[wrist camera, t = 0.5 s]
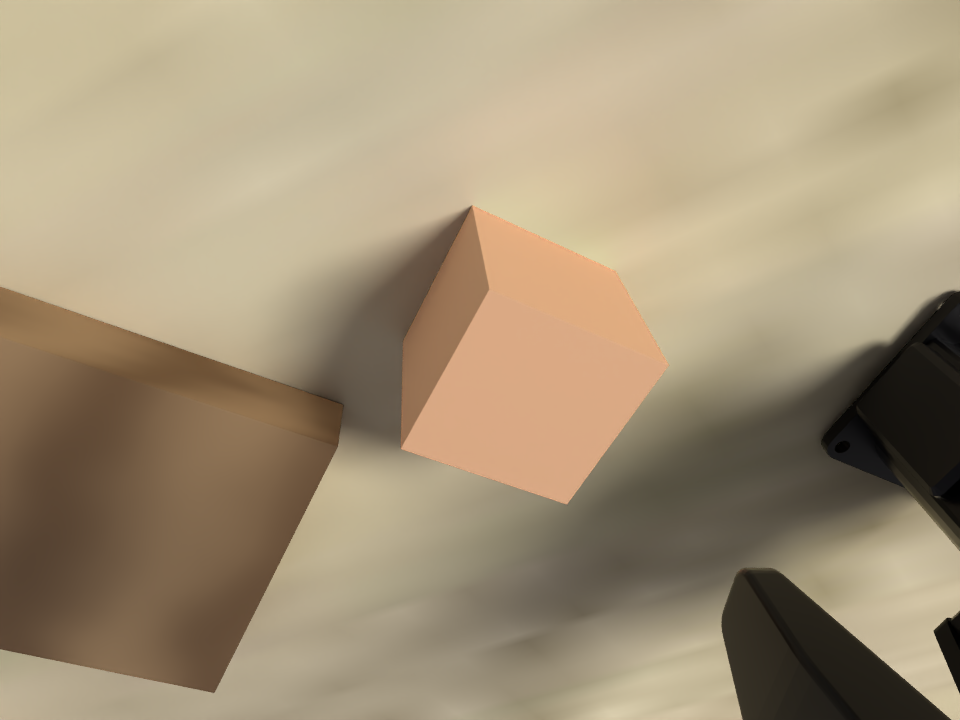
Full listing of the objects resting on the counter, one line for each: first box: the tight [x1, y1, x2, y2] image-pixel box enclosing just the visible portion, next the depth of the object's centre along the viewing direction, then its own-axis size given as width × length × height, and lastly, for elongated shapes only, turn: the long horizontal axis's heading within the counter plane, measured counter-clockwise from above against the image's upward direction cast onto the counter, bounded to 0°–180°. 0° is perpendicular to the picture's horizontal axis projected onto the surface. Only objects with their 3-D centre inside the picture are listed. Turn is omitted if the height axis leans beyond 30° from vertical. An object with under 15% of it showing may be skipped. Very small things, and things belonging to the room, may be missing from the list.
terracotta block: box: [401, 205, 669, 504], centre depth 18 cm, size 4×4×5 cm
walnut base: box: [0, 287, 343, 693], centre depth 22 cm, size 12×12×2 cm
